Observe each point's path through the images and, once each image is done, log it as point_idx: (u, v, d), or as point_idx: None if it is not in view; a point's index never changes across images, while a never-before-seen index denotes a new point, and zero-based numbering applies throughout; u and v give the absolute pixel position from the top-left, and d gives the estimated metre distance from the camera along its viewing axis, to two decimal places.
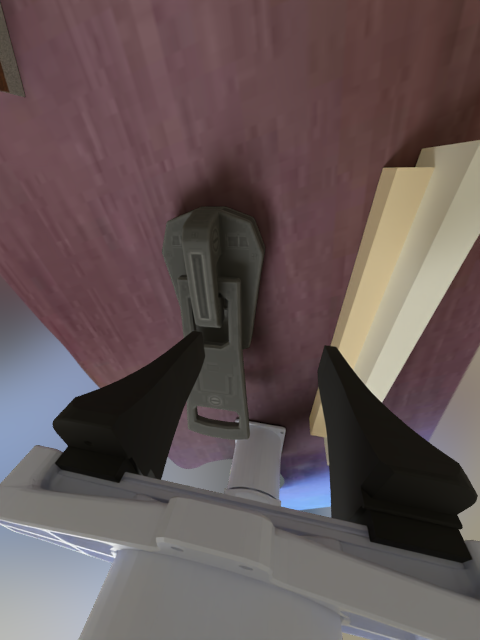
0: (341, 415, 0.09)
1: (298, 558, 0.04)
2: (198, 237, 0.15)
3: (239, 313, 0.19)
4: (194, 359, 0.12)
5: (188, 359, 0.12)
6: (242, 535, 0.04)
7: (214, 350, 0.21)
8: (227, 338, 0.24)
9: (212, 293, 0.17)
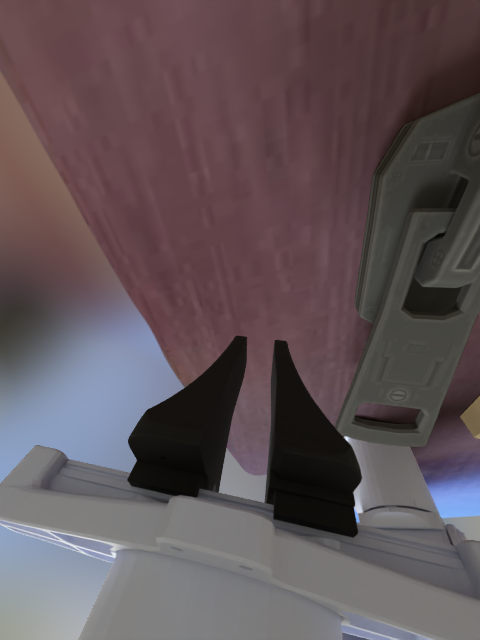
0: (274, 405, 0.09)
1: (298, 558, 0.04)
2: None
3: None
4: (241, 365, 0.12)
5: (238, 366, 0.11)
6: (242, 535, 0.04)
7: (432, 322, 0.15)
8: (422, 310, 0.17)
9: None
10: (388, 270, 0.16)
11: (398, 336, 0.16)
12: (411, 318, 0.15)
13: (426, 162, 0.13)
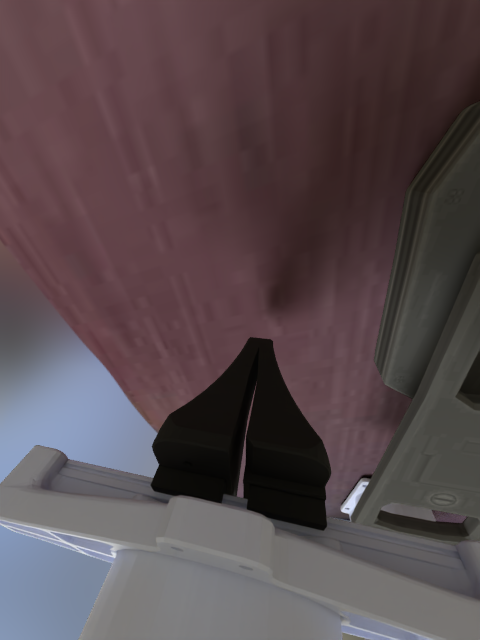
0: None
1: (298, 558, 0.04)
2: None
3: None
4: (256, 367, 0.12)
5: (254, 368, 0.11)
6: (242, 535, 0.04)
7: None
8: (478, 381, 0.12)
9: None
10: (430, 330, 0.11)
11: (448, 431, 0.11)
12: (472, 409, 0.10)
13: None
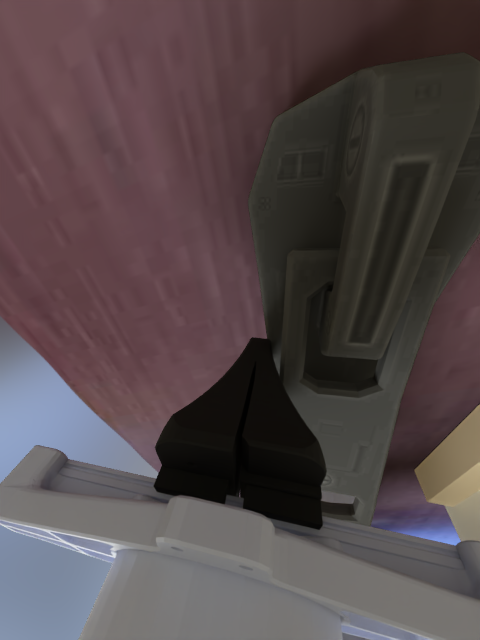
0: None
1: (298, 558, 0.04)
2: (442, 98, 0.05)
3: (424, 328, 0.09)
4: None
5: (256, 368, 0.11)
6: (242, 535, 0.04)
7: (344, 399, 0.11)
8: (345, 369, 0.13)
9: (410, 283, 0.07)
10: None
11: (304, 413, 0.12)
12: (316, 393, 0.11)
13: (300, 182, 0.08)
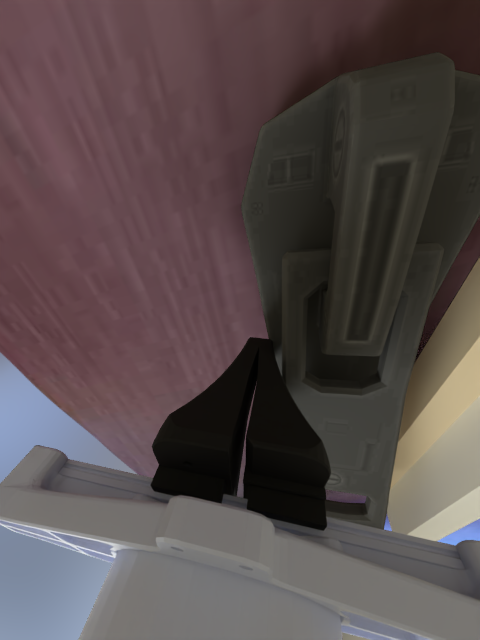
0: None
1: (298, 558, 0.04)
2: (417, 99, 0.05)
3: (423, 322, 0.09)
4: (256, 367, 0.12)
5: (254, 368, 0.11)
6: (242, 535, 0.04)
7: (347, 397, 0.11)
8: (349, 367, 0.13)
9: (403, 278, 0.07)
10: None
11: (308, 413, 0.12)
12: (319, 392, 0.11)
13: (290, 185, 0.09)
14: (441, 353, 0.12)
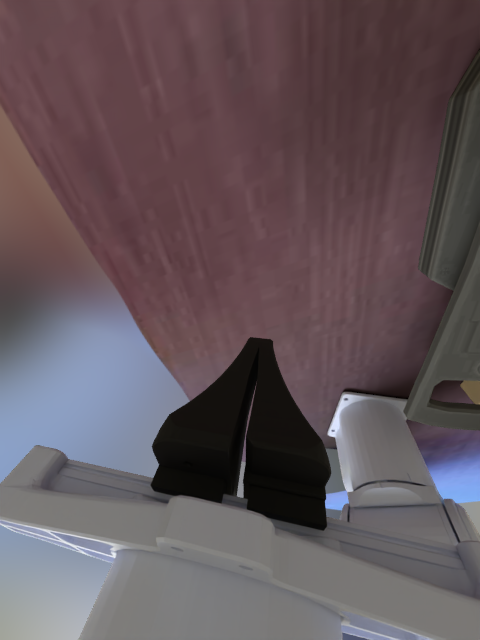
0: None
1: (298, 558, 0.04)
2: None
3: None
4: (256, 367, 0.12)
5: (254, 368, 0.11)
6: (242, 535, 0.04)
7: None
8: None
9: None
10: (472, 216, 0.14)
11: None
12: None
13: None
14: None
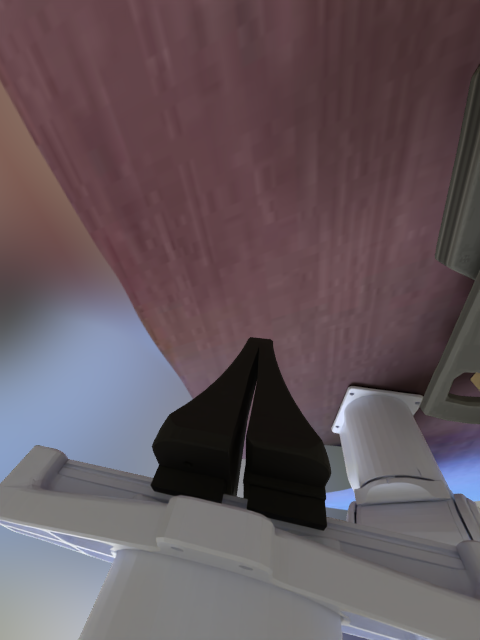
0: None
1: (298, 558, 0.04)
2: None
3: None
4: (256, 367, 0.12)
5: (254, 368, 0.11)
6: (242, 535, 0.04)
7: None
8: None
9: None
10: None
11: None
12: None
13: None
14: None
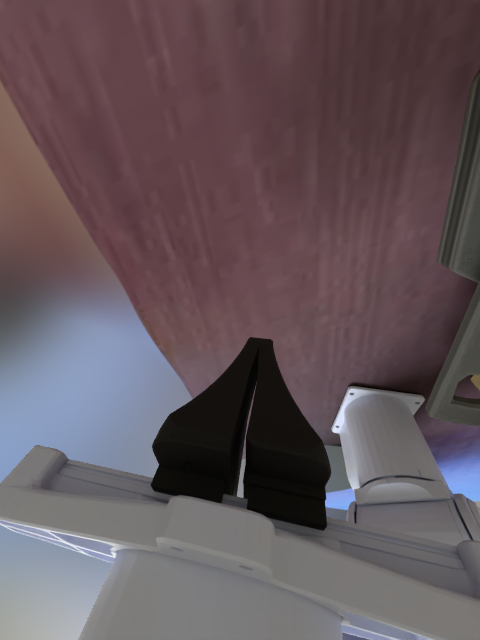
0: None
1: (298, 558, 0.04)
2: None
3: None
4: (256, 367, 0.12)
5: (254, 368, 0.11)
6: (242, 535, 0.04)
7: None
8: None
9: None
10: None
11: None
12: None
13: None
14: None
